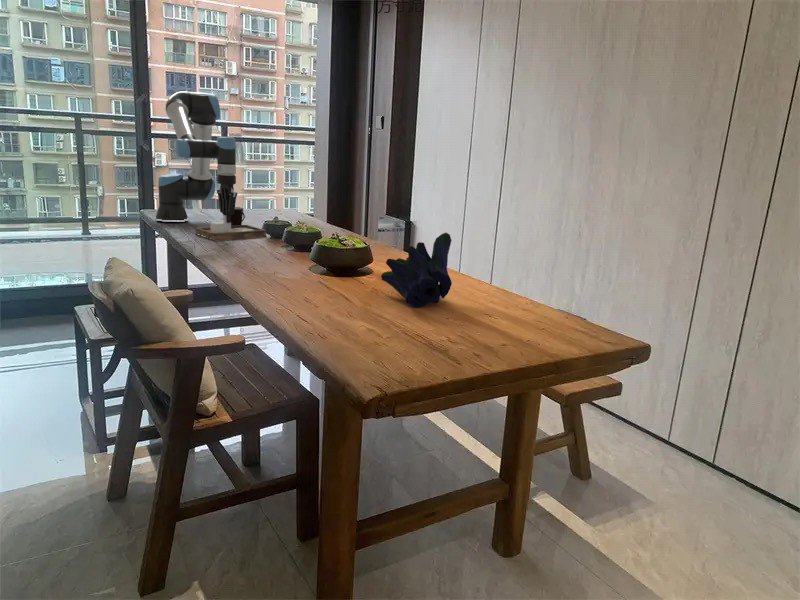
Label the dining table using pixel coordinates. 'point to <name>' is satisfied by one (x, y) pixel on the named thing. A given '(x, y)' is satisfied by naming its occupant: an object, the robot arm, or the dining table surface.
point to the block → (218, 227)
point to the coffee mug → (237, 216)
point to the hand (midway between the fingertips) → (227, 229)
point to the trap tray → (233, 232)
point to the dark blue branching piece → (421, 273)
